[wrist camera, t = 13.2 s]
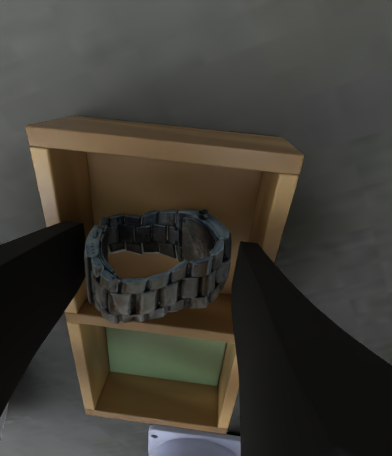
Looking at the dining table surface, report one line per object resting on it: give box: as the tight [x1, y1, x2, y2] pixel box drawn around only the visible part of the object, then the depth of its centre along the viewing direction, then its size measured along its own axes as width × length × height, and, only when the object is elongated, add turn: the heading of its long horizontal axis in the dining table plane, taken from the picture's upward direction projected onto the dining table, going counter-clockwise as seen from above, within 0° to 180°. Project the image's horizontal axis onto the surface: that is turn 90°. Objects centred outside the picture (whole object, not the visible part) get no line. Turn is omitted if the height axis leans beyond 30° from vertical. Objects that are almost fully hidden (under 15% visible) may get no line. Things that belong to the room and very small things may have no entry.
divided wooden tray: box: [25, 116, 305, 434], centre depth 13 cm, size 16×8×3 cm, turn 175°
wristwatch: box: [84, 209, 232, 324], centre depth 10 cm, size 3×5×5 cm
